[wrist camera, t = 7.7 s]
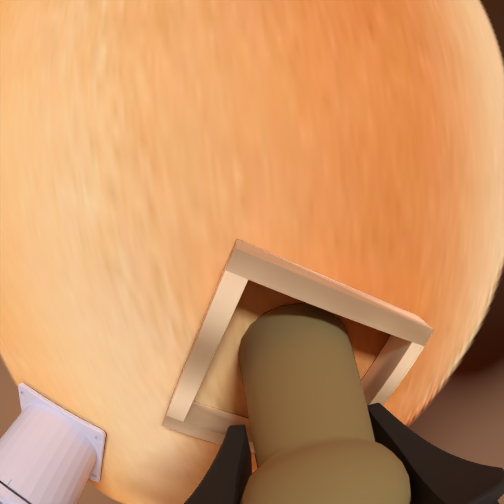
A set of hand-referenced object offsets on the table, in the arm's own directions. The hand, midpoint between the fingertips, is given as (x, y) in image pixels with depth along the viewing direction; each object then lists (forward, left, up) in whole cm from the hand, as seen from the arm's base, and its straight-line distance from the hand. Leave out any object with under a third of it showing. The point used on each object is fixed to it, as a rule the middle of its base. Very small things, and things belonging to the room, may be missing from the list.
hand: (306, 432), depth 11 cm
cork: (+1, 0, -5) cm, 5 cm away
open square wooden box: (0, 0, -5) cm, 5 cm away
